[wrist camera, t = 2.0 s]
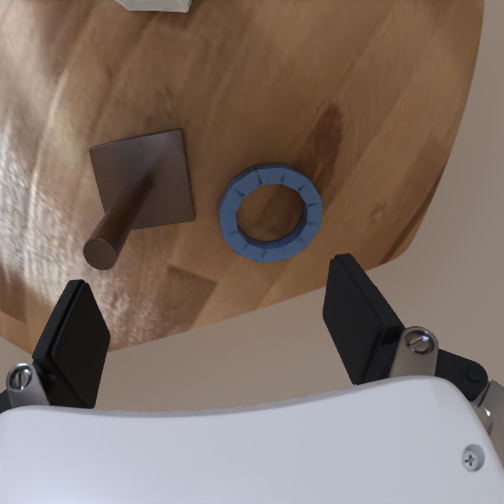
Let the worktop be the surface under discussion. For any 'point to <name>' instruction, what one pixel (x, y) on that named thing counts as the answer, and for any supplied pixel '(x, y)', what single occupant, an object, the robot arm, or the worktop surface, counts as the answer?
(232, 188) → the ring
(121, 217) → the stand
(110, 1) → the worktop surface
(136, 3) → the syrup box
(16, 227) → the worktop surface
